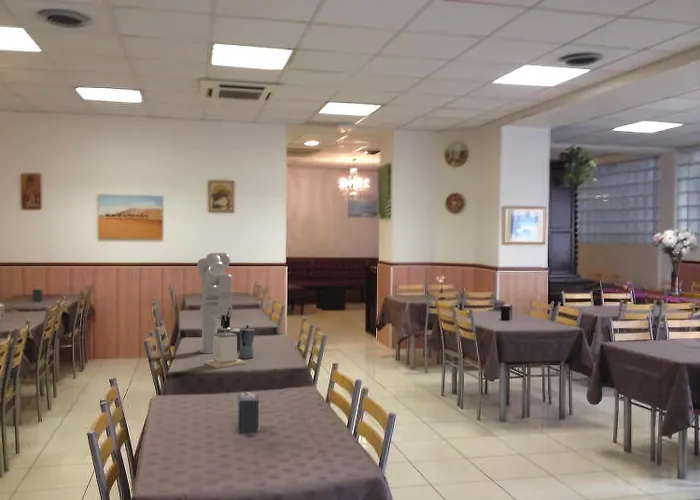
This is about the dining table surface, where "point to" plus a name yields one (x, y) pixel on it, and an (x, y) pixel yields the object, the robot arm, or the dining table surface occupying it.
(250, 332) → the moka pot
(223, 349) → the white box
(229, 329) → the plunger
